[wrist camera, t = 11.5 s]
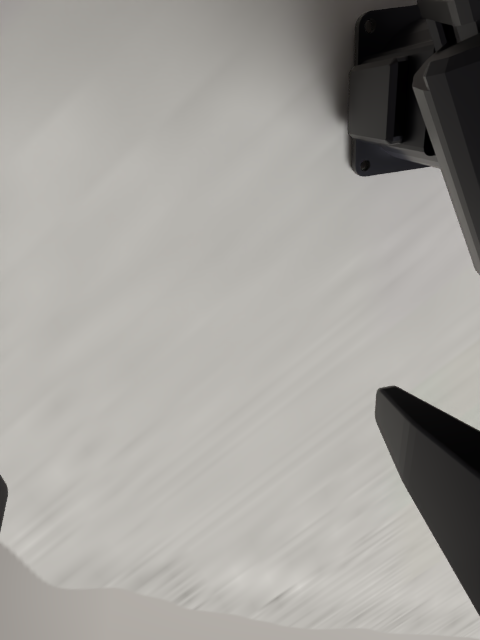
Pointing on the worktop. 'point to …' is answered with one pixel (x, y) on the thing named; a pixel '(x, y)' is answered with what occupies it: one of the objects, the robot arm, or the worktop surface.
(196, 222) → the worktop surface
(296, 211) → the worktop surface
